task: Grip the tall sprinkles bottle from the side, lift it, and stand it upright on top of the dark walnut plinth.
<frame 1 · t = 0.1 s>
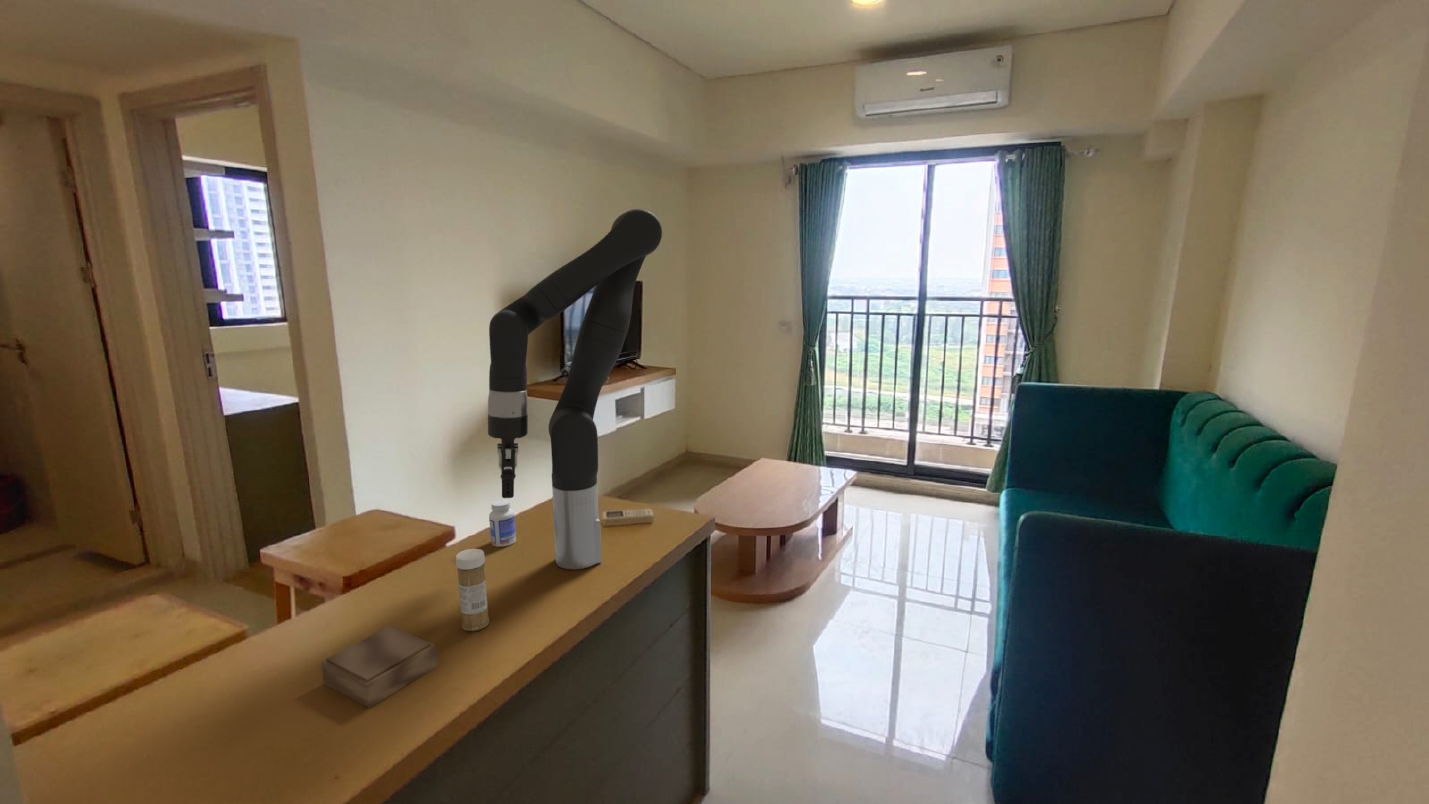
hand: (507, 490, 124), 17 cm above the counter, tool pointing down, fingers open, 8 cm apart
walnut plinth: (382, 674, 93), on the counter
sprinkles bottle: (475, 626, 107), on the counter
pill bottle: (503, 543, 141), on the counter
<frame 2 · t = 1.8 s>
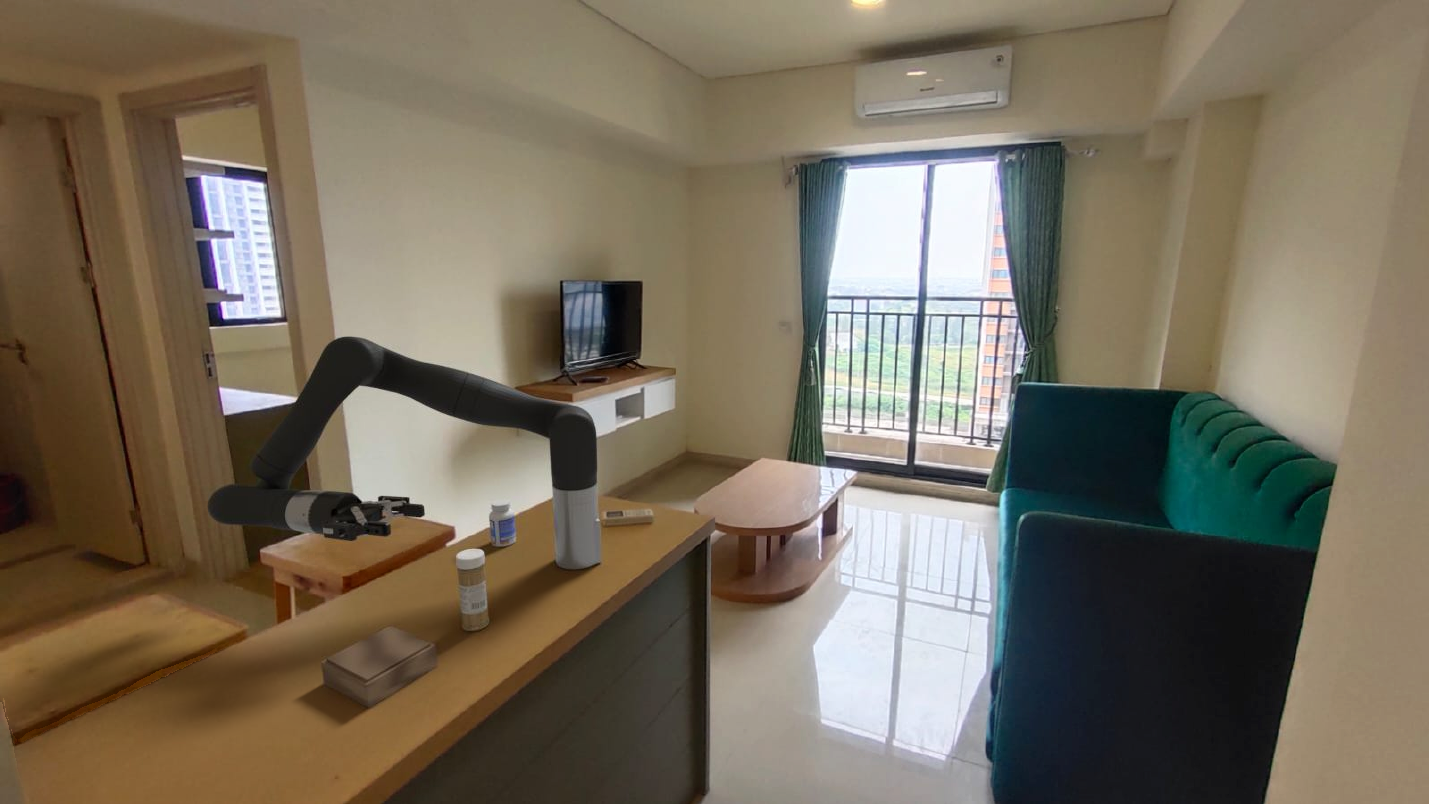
hand: (407, 520, 104), 19 cm above the counter, tool horizontal, fingers open, 8 cm apart
nothing on the counter moved.
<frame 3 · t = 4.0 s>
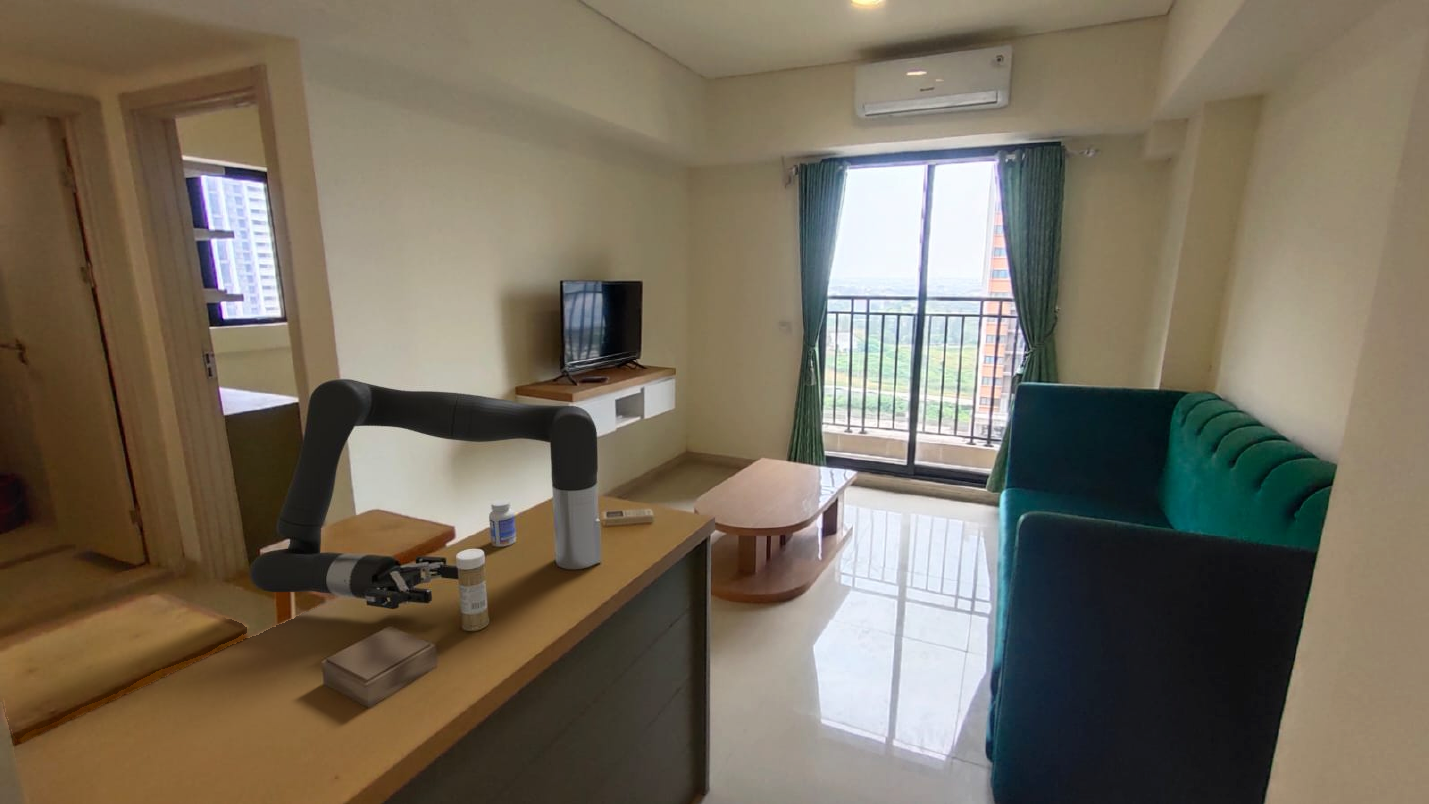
hand: (446, 584, 106), 7 cm above the counter, tool horizontal, fingers open, 8 cm apart
nothing on the counter moved.
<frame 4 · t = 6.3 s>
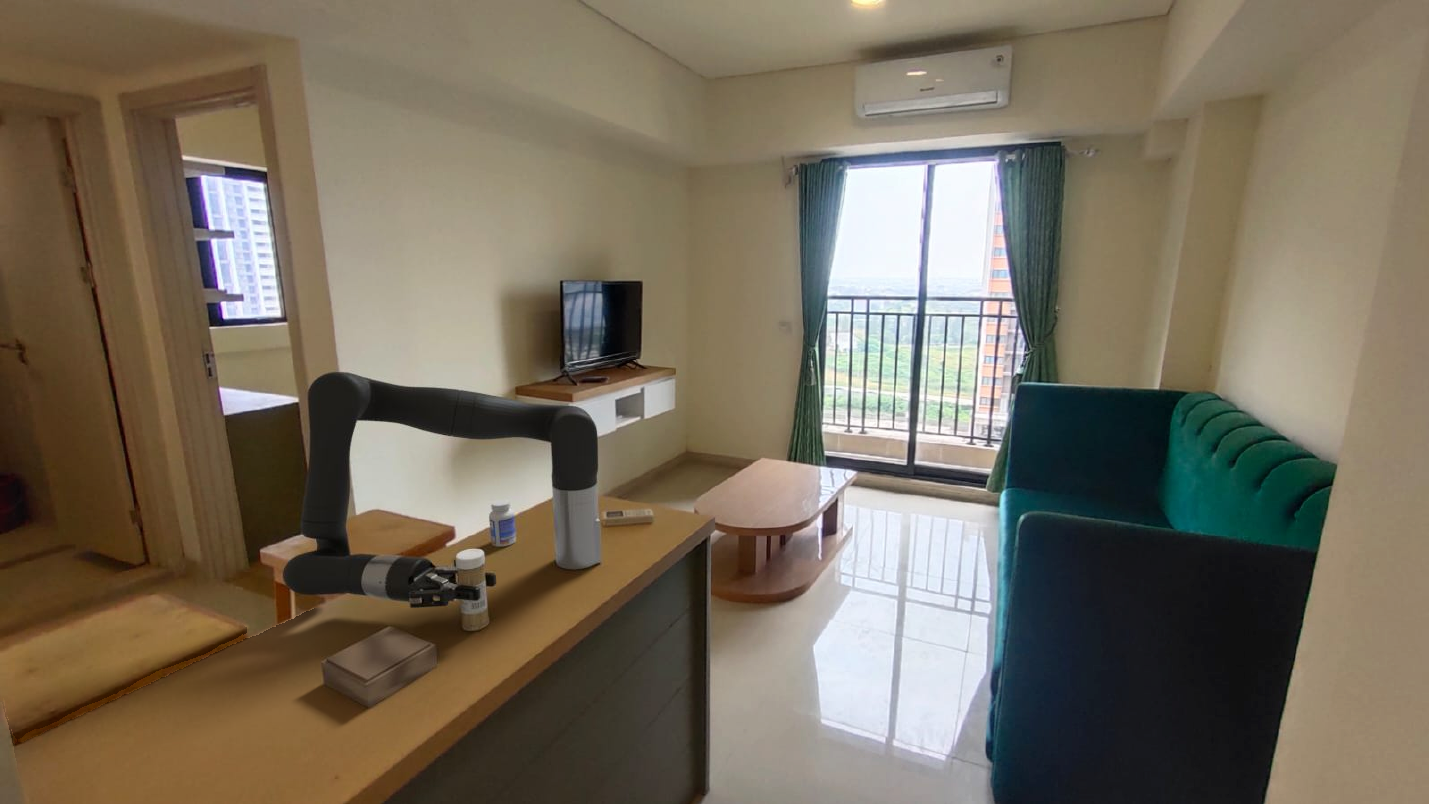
hand: (486, 586, 105), 8 cm above the counter, tool horizontal, fingers closed on sprinkles bottle, 4 cm apart
sprinkles bottle: (475, 626, 107), on the counter, touching gripper
everything else where it was.
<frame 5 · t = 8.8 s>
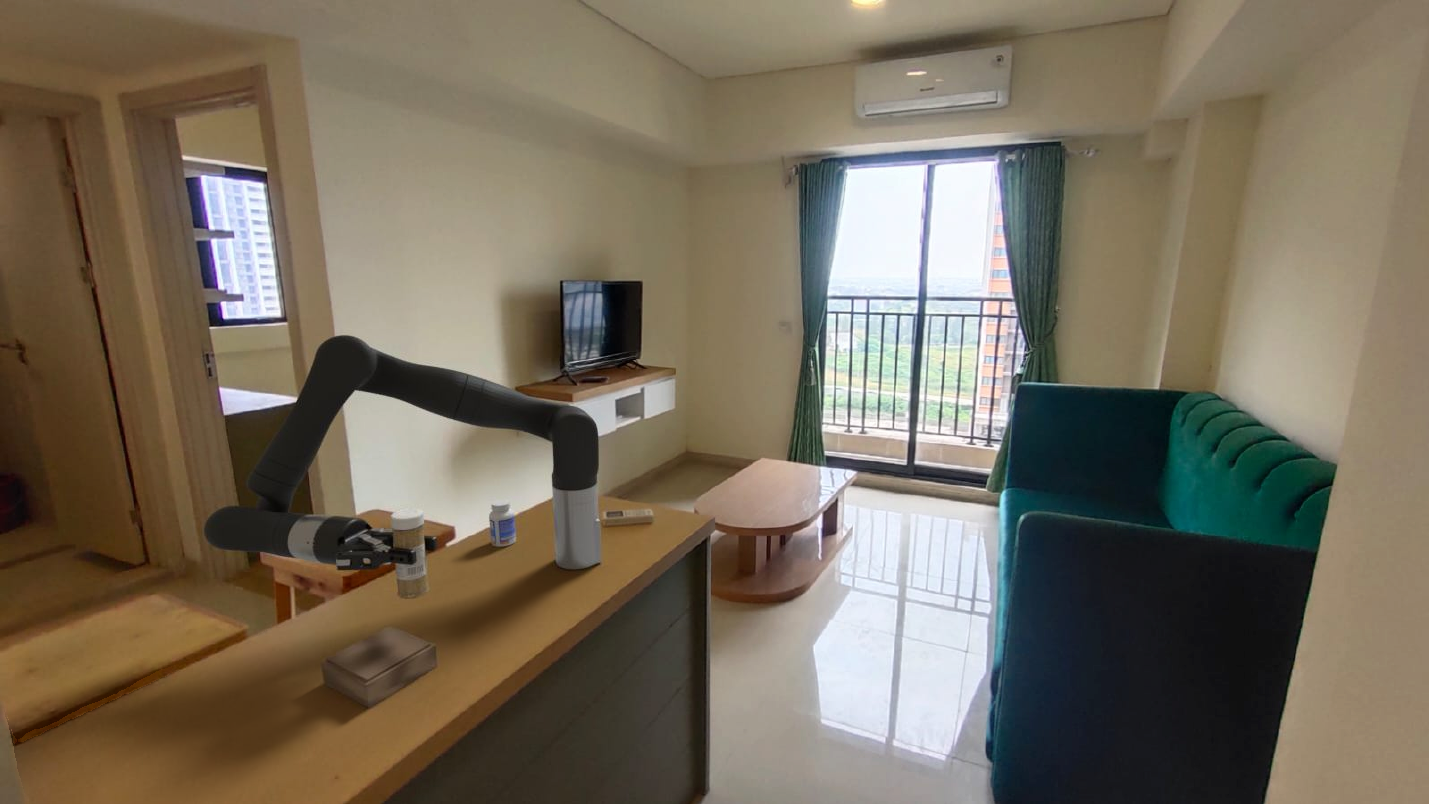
hand: (425, 550, 95), 18 cm above the counter, tool horizontal, fingers closed on sprinkles bottle, 4 cm apart
sprinkles bottle: (413, 594, 97), point 10 cm above the counter, touching gripper
everything else where it was.
when the fingers open (13 cm above the counter, at t = 11.3 s): sprinkles bottle drops 1 cm, resting on walnut plinth.
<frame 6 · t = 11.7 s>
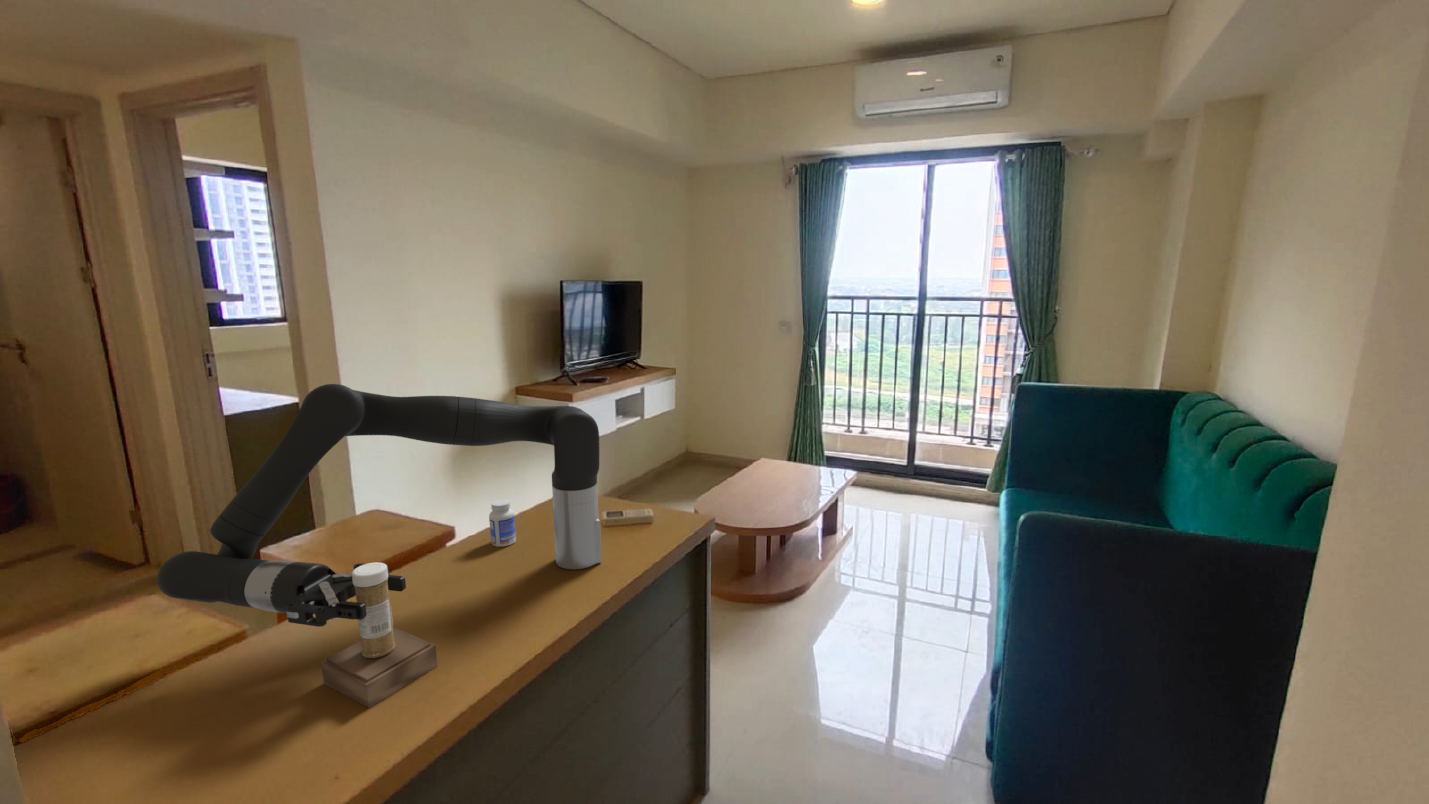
hand: (385, 597, 90), 13 cm above the counter, tool horizontal, fingers open, 8 cm apart
sprinkles bottle: (378, 652, 92), point 4 cm above the counter, touching walnut plinth
everything else where it was.
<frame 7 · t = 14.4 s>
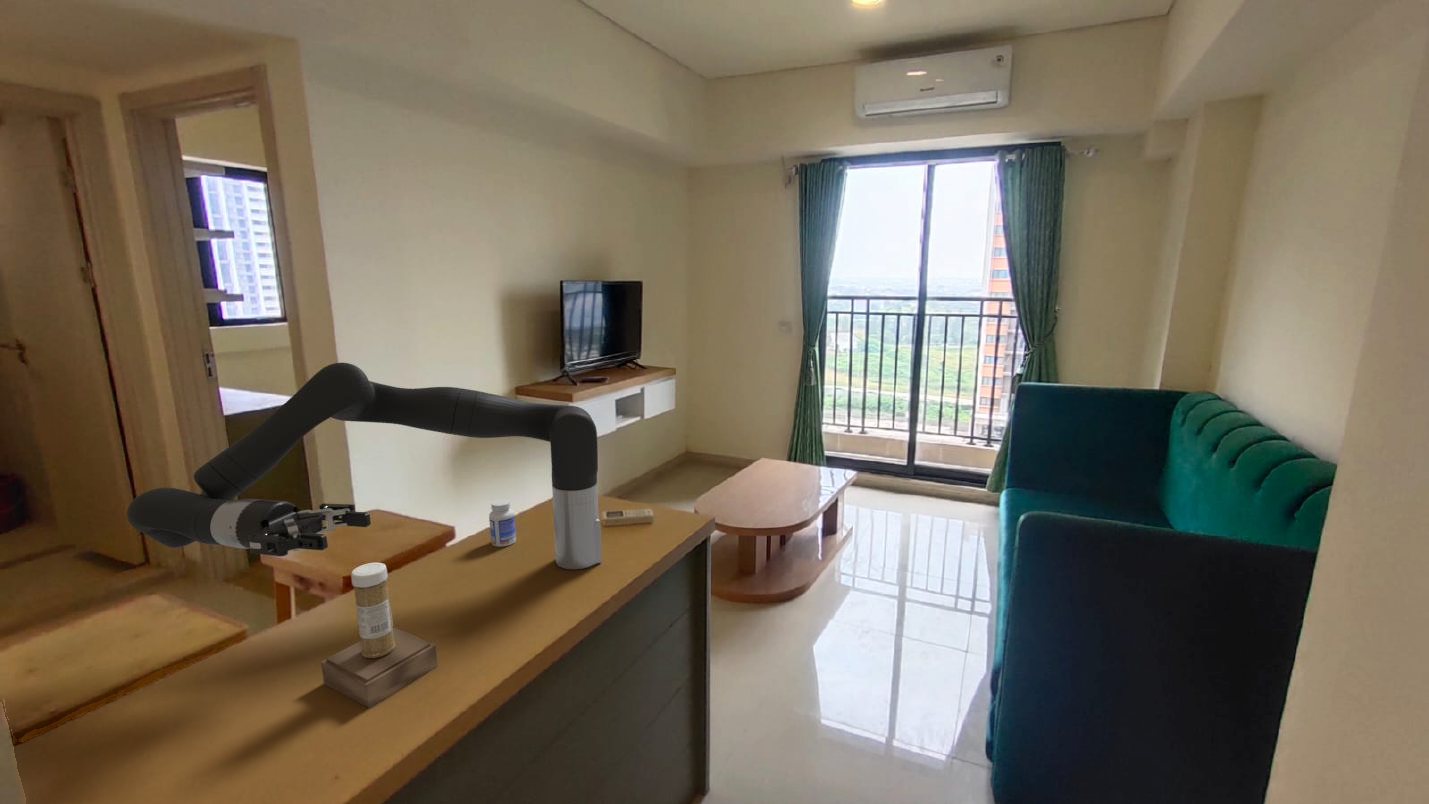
hand: (348, 530, 92), 22 cm above the counter, tool horizontal, fingers open, 8 cm apart
nothing on the counter moved.
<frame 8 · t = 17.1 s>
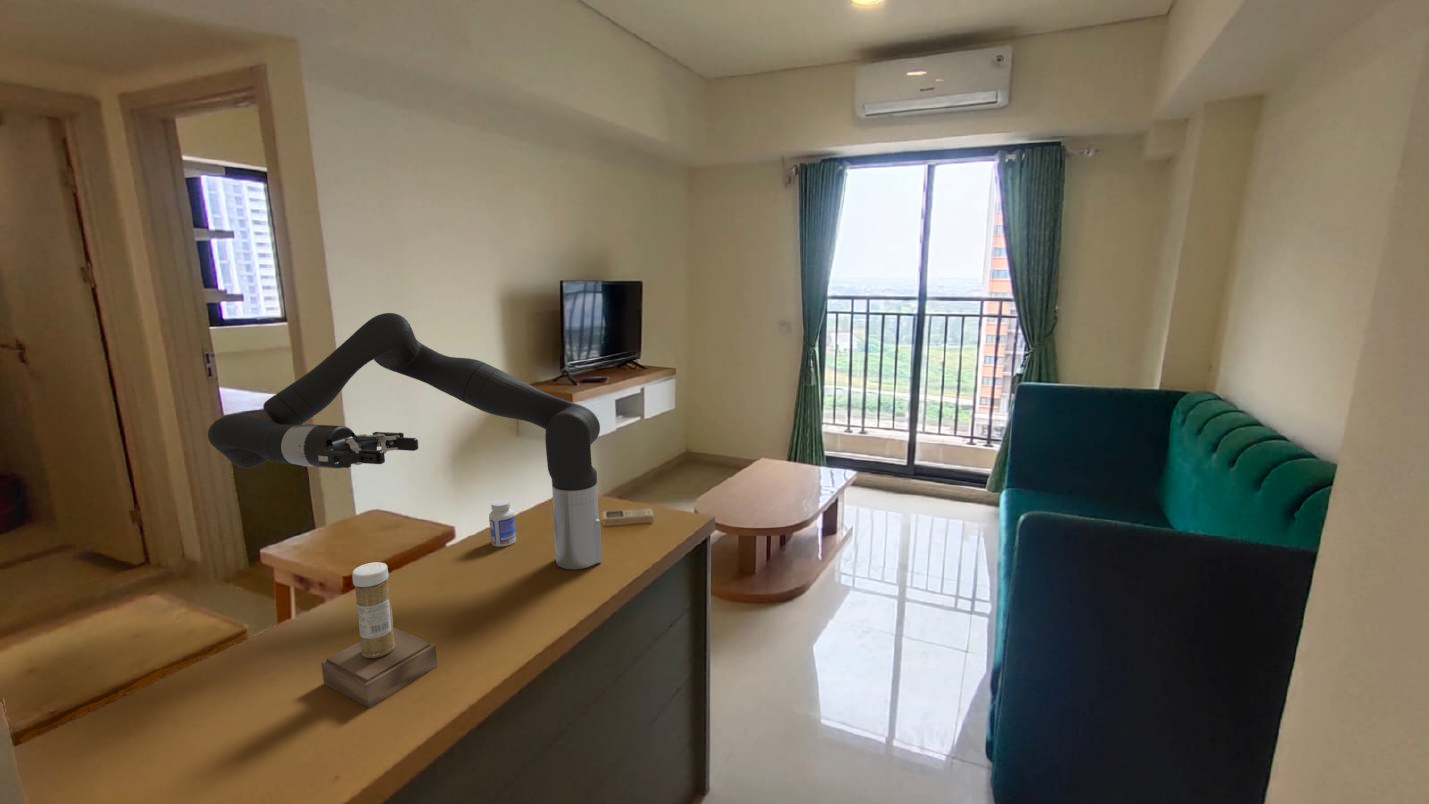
hand: (400, 450, 106), 30 cm above the counter, tool horizontal, fingers open, 8 cm apart
nothing on the counter moved.
at the end: sprinkles bottle inside the target area on the walnut plinth (0.1 cm from its centre), point 3.8 cm above the walnut plinth's base; sprinkles bottle tilted 0°; the gripper is holding nothing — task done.
